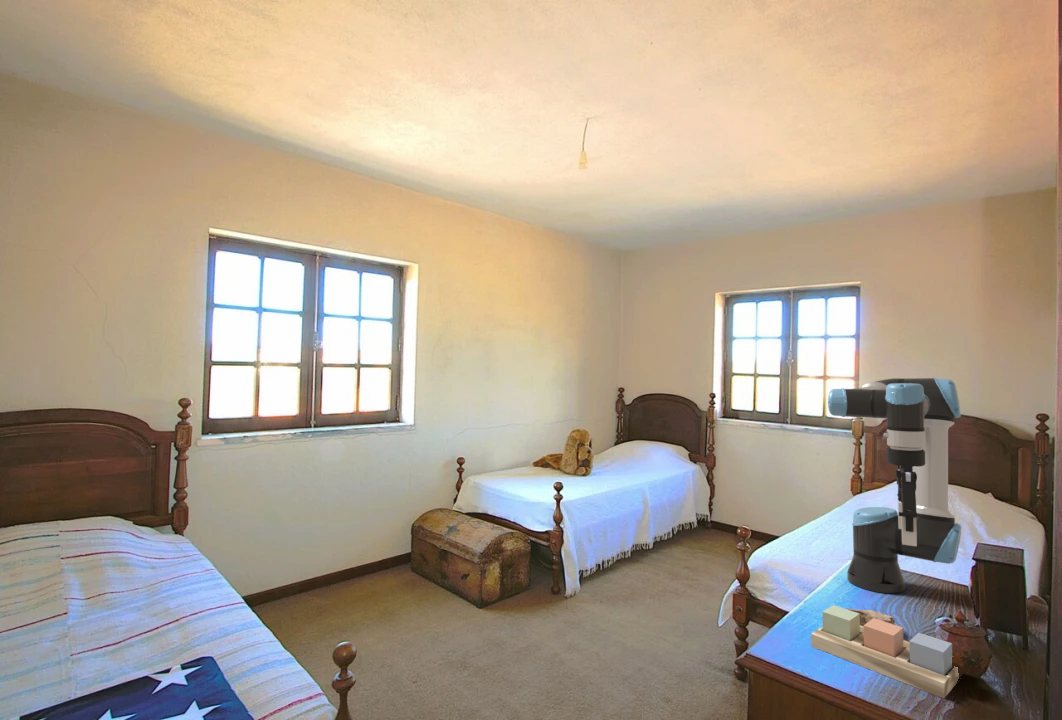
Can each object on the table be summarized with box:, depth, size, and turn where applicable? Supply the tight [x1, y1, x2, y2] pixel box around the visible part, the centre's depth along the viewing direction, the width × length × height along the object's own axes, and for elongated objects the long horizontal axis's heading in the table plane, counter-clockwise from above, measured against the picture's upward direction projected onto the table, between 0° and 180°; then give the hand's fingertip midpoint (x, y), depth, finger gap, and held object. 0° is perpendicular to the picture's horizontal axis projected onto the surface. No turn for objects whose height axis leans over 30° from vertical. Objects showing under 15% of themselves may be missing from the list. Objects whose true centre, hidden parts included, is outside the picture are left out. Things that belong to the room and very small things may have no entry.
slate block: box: [909, 632, 953, 676], centre depth 115 cm, size 6×6×5 cm
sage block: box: [822, 604, 860, 641], centre depth 129 cm, size 6×6×5 cm
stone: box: [846, 608, 896, 626], centre depth 137 cm, size 9×11×5 cm
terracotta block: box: [864, 618, 904, 658], centre depth 122 cm, size 6×6×5 cm
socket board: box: [810, 625, 959, 699], centre depth 122 cm, size 14×26×3 cm, turn 38°
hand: (907, 536), depth 127 cm, fingers open, 13 cm apart
